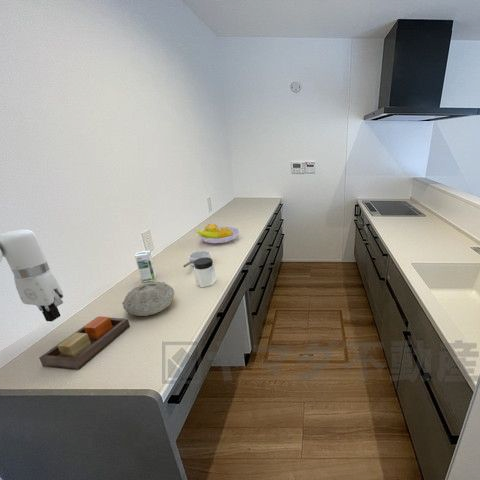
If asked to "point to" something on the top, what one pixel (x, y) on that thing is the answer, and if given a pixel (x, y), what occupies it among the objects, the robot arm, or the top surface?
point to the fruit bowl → (217, 234)
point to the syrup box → (145, 266)
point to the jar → (204, 272)
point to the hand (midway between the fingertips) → (53, 318)
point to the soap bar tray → (84, 343)
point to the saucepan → (197, 256)
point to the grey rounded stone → (148, 298)
